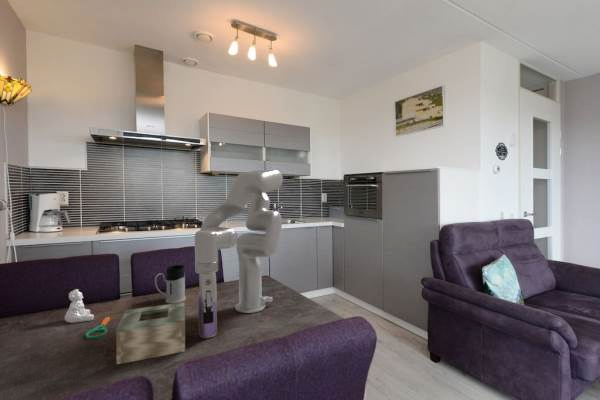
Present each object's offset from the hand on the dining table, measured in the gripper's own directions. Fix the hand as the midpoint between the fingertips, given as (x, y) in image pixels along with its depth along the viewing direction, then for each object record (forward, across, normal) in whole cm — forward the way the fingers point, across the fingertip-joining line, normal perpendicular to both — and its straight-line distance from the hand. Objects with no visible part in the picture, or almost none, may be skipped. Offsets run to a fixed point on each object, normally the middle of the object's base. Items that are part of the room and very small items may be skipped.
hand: (207, 318), depth 99 cm
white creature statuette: (+6, +32, +45) cm, 56 cm away
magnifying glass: (+6, +19, +35) cm, 41 cm away
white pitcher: (+6, +40, +13) cm, 42 cm away
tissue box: (+5, -1, +16) cm, 17 cm away
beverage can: (+6, 0, 0) cm, 6 cm away
